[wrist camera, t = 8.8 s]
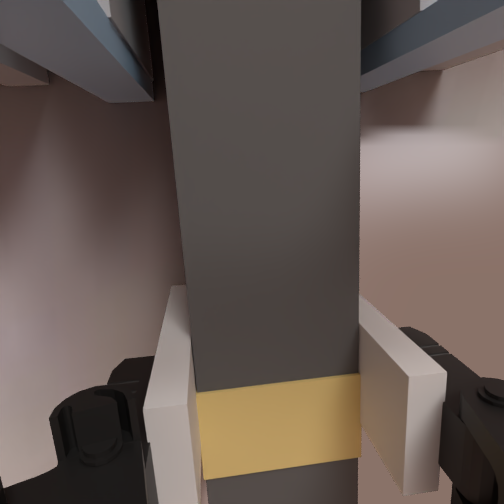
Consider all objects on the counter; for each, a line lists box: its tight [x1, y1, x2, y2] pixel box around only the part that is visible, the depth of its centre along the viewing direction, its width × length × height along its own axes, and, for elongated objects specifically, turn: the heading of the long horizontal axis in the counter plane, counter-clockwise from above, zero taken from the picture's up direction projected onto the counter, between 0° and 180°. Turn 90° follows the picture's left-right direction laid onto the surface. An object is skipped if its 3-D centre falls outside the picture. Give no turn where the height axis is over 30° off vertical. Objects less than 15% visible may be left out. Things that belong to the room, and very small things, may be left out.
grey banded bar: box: [157, 0, 361, 504], centre depth 11 cm, size 4×16×5 cm, turn 3°
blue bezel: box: [0, 0, 504, 103], centre depth 8 cm, size 8×1×11 cm, turn 93°
